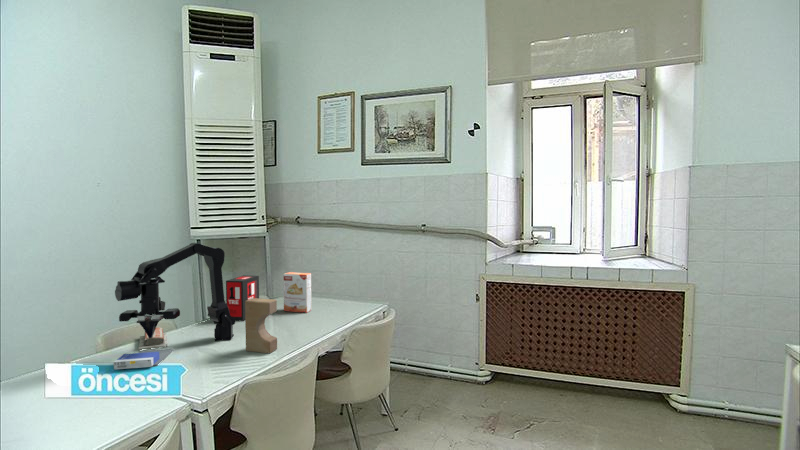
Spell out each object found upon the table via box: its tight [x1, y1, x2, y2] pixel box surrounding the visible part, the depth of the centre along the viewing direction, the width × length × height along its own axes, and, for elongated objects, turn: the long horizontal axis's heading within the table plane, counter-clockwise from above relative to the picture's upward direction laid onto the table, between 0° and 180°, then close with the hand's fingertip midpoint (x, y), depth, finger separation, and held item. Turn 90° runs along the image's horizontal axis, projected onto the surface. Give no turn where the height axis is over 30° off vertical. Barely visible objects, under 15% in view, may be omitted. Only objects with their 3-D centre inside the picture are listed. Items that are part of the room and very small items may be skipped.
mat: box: [137, 348, 175, 367], centre depth 149 cm, size 12×16×1 cm
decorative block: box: [244, 297, 278, 354], centre depth 158 cm, size 11×6×20 cm, turn 73°
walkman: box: [113, 352, 159, 370], centre depth 142 cm, size 8×3×12 cm
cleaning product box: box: [225, 274, 260, 322], centre depth 208 cm, size 16×9×20 cm, turn 172°
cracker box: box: [283, 271, 312, 313], centre depth 219 cm, size 14×6×21 cm, turn 76°
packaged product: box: [138, 326, 168, 351], centre depth 167 cm, size 18×5×10 cm
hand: (150, 337), depth 149 cm, fingers closed
